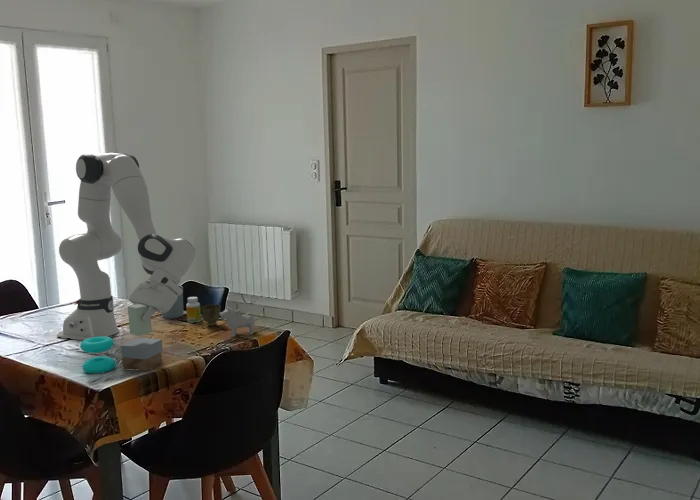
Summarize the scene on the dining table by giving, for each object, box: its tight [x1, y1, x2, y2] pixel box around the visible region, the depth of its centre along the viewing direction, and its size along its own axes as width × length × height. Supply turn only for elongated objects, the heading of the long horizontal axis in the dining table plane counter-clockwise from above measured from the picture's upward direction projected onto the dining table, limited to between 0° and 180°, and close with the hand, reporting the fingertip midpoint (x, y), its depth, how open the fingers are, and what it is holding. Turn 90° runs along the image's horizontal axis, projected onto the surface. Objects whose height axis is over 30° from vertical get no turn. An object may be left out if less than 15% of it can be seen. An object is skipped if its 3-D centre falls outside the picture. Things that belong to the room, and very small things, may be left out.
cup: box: [200, 303, 221, 327], centre depth 272 cm, size 8×7×8 cm
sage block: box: [127, 304, 153, 337], centre depth 224 cm, size 5×5×9 cm
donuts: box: [80, 336, 116, 374], centre depth 223 cm, size 10×10×10 cm
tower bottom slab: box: [121, 352, 163, 371], centre depth 226 cm, size 9×9×4 cm
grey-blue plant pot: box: [161, 285, 185, 319], centre depth 290 cm, size 10×10×12 cm
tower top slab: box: [120, 337, 164, 359], centre depth 225 cm, size 9×9×4 cm
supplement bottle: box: [185, 296, 202, 324], centre depth 280 cm, size 5×5×10 cm
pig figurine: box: [219, 306, 256, 337], centre depth 259 cm, size 5×13×11 cm, turn 105°
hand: (137, 318), depth 223 cm, fingers closed on sage block, 5 cm apart
